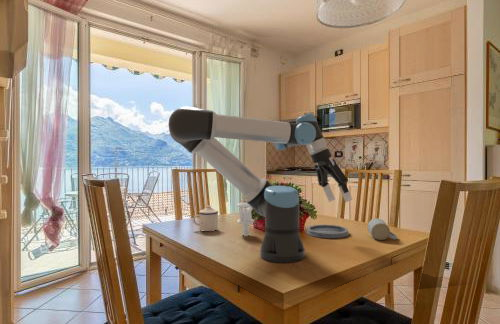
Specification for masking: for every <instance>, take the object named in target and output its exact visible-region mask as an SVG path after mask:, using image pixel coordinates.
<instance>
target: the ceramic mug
mask: <svg viewBox="0 0 500 324" xmlns="http://www.w3.org/2000/svg"><path fill="white" fill-rule="evenodd" d="M367 231H368V232H369V234H370V235H371V236H372V237H373V238H374V239H375V240H378V241H384V240H387V239H388V238H389V239H391V240H393V241H394V240H395V241H396V240H397V239H398V236H397V235H396V234H395V233H394V232H393V231H391V230H390V227H389V226H388V225H387V223H386V222H385V221H384V220H383V219H381V218H378V217H377V218H372V219H371V220H370V221H369V222H368V224H367Z"/></svg>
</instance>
